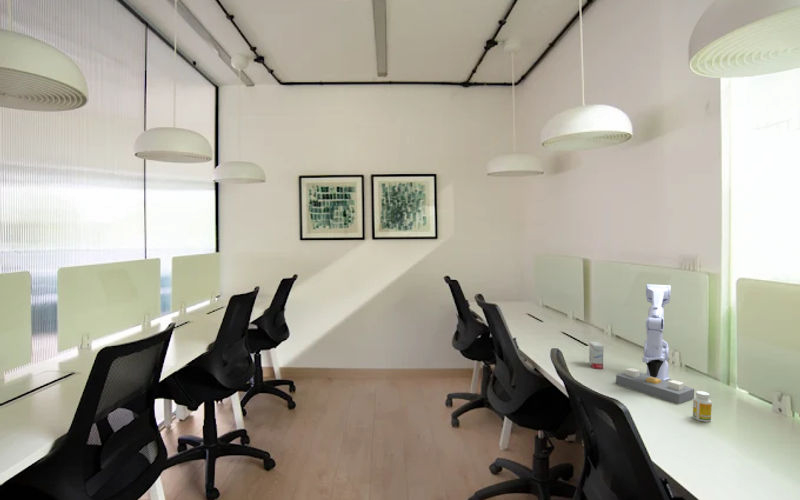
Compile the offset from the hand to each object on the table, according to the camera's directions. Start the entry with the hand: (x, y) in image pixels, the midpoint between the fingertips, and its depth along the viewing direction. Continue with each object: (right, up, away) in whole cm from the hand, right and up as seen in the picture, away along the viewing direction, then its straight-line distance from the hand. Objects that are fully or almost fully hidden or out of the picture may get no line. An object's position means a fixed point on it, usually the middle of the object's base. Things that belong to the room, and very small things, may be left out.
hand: (653, 376), depth 176 cm
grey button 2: (+4, -3, -8) cm, 10 cm away
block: (-5, -3, +8) cm, 10 cm away
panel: (0, -6, 0) cm, 6 cm away
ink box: (-9, -5, +33) cm, 35 cm away
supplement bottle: (+1, -7, -27) cm, 28 cm away
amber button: (0, -4, 0) cm, 5 cm away
